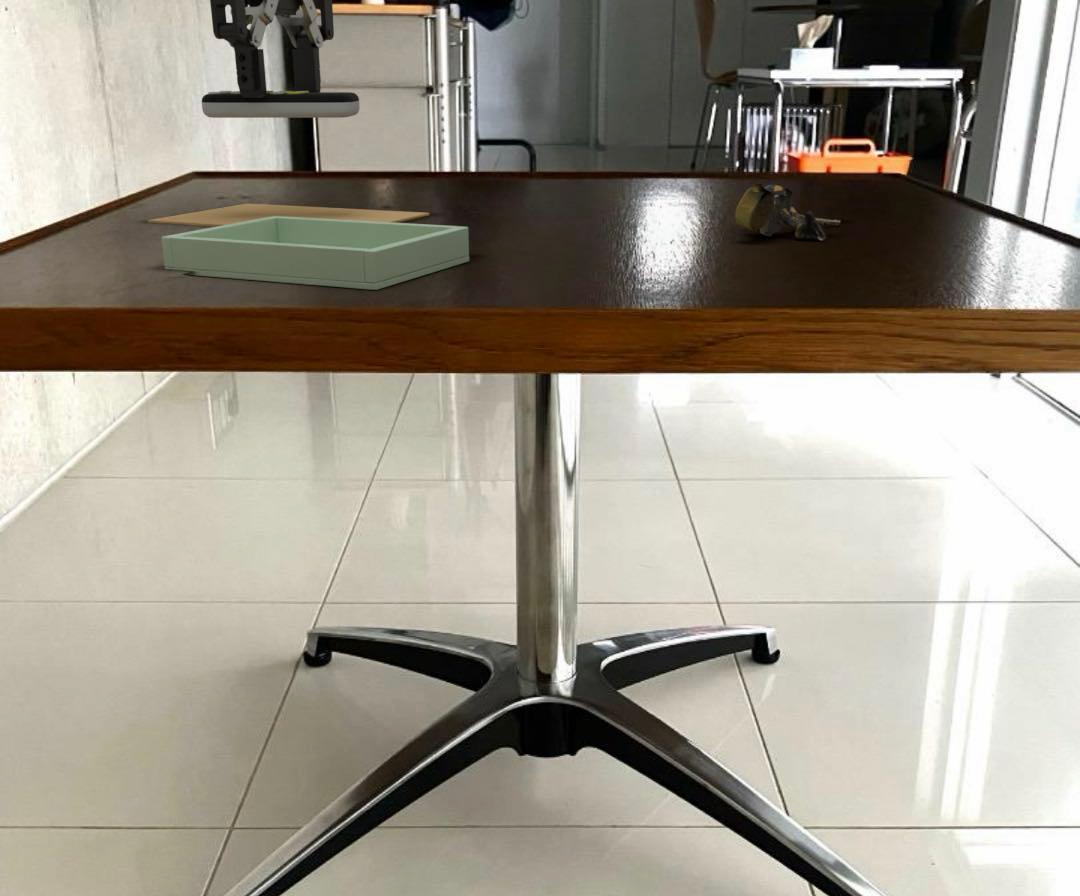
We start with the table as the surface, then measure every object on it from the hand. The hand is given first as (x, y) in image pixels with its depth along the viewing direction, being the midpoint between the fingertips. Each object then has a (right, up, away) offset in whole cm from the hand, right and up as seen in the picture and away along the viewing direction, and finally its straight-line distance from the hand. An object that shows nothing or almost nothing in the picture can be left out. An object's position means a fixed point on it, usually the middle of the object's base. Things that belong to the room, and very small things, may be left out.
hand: (281, 95), depth 104 cm
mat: (0, -10, +4) cm, 10 cm away
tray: (+7, -19, -19) cm, 28 cm away
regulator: (+42, -13, -5) cm, 44 cm away
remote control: (0, -2, +1) cm, 2 cm away
